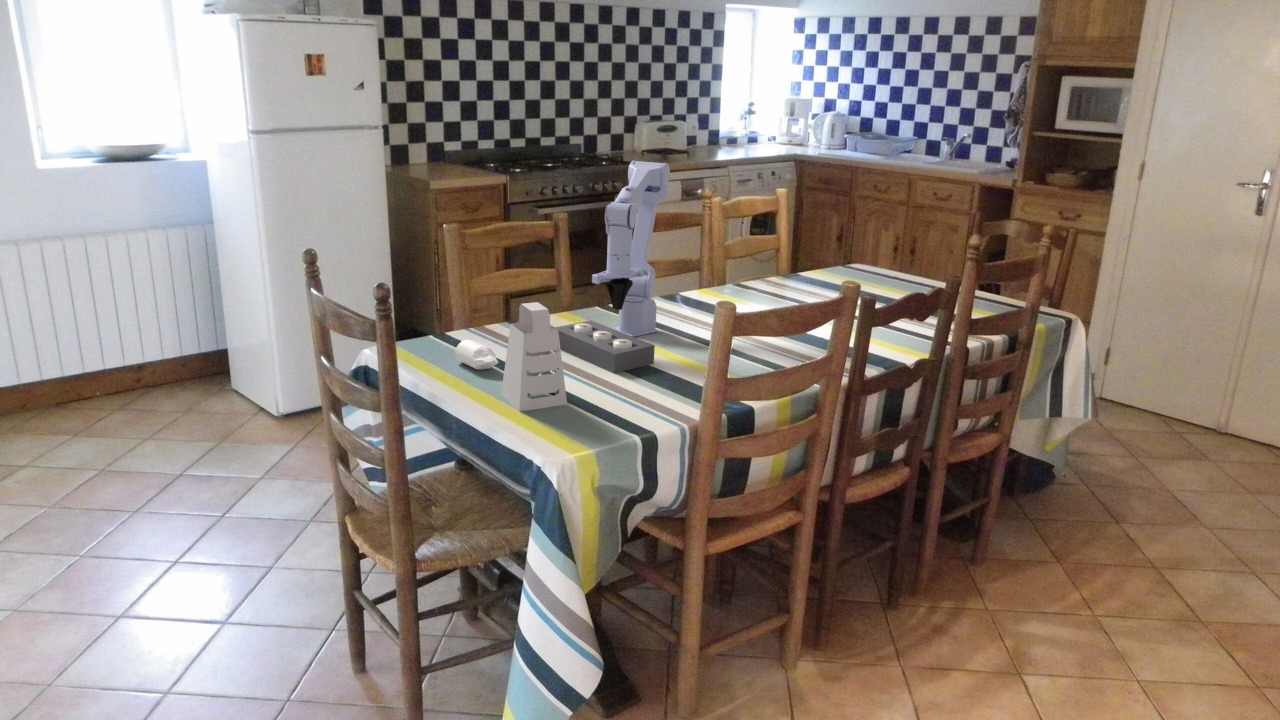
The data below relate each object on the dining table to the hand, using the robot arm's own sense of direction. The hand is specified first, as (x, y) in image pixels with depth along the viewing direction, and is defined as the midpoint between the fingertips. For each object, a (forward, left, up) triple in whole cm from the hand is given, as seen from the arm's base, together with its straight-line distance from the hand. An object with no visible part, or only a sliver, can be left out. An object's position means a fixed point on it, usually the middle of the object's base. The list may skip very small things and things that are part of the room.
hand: (617, 308), depth 227 cm
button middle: (+6, +2, -8) cm, 10 cm away
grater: (+36, +17, -10) cm, 41 cm away
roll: (+35, -5, -10) cm, 37 cm away
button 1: (+6, -6, -8) cm, 11 cm away
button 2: (+6, +9, -8) cm, 14 cm away
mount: (+6, +2, -10) cm, 12 cm away
